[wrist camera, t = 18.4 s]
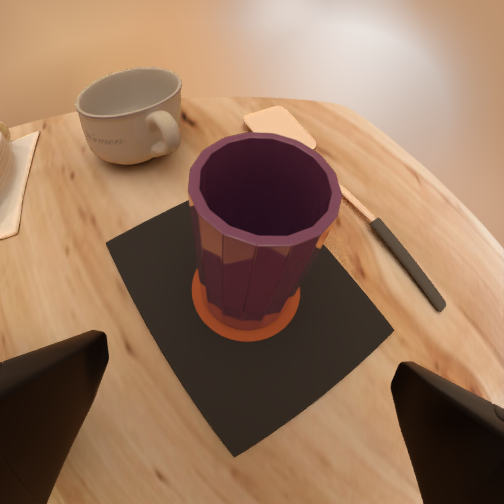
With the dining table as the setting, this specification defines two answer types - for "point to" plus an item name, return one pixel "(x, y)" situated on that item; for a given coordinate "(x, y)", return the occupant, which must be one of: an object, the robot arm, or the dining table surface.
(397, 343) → the dining table surface
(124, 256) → the mat
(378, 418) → the dining table surface
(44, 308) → the dining table surface
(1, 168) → the wedding cake
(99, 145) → the teacup
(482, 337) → the dining table surface
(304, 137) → the spatula
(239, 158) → the cup
